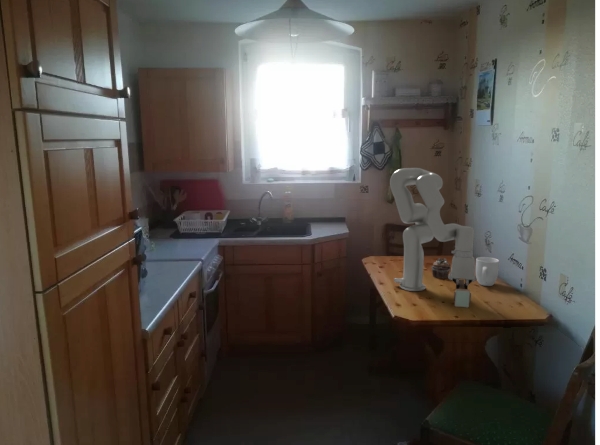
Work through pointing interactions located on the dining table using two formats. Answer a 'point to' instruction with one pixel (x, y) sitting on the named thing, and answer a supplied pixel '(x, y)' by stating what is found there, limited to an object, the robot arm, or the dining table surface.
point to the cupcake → (440, 268)
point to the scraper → (461, 283)
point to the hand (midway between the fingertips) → (461, 292)
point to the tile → (462, 297)
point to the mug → (487, 270)
